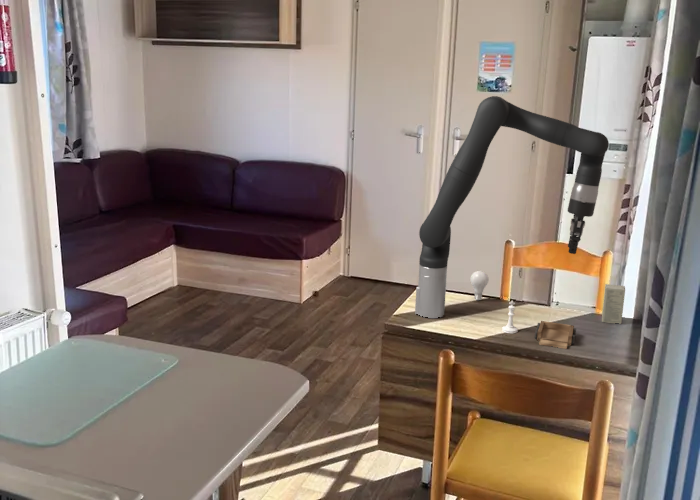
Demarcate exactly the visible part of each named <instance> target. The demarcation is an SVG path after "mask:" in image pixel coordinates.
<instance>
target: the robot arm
mask: <svg viewBox="0 0 700 500" xmlns="http://www.w3.org/2000/svg"><path fill="white" fill-rule="evenodd" d="M502 127H504V128H510V129H514V130H518V131H522V132H524V133H527V134H529V135H531V136H534V137H536V138H538V139H539V140H543V141H545V142H548V143H551V144H554V145H557V146H560V147H562V148H563V147H564V148H568V149H571V150H574V151H576V152H578V153H580V158H579V165H578V167H577V170H576V175H575V178H574V183H573V187H572V188H571V193H570V197H569V201H568V202H569V203H568V206H567V212H568V213H569V214H572V215H573V218H571V220H570V227H569V231H570V232H569V240H568V244H567V247H568V253H569V254H572V255H576V254H577V251H578V248H579V247H578V245H579V242H580V241H581V237H582V236H583V231H584V228H585V226H586V220H584V217H586V218H590V217H593V216H594V212H595V208H596V205H597V200H598V199H597V198H598V195H599V186H600V183H601V179H602V173H603V172H602V171H603V170H602V169H603V167H602V166H603V162H604V159H605V155H606V153H607V151H608V149H609V147H610V145H609V142H610V141H609V140H608V137H607V136H606V135H605V134H603V133H601V132H599V131H593V130H590V129H585V128H582V127H578V126H577V125H575V124H572V123H570V122H567V121H564V120H560V119H557V118H553V117H551V116H546V115H542V114H540V113H535V112H532V111H530V110H527V109H523V108H522V107H519V106H517V105H515V104H513V103H511V102H509V101H507V100H505V99H504V98H503V97H502V96H498V95H492V96H489V97H488V96H487V98H484V99H483V100H482V101H481V102H480V103H479V105H478V106H477V109H476V112H475V116H474V119H473V121H472V123H471V127H470V129H469V132H468V134H467V136H466V137H465V139H464V141H463V143H462V145H461V146H460V147H459V149H458V151H457V153H456V155H455V156H454V159H453V160H452V162H451V164H450V166H449V168H448V170H447V173H446V174H445V177H444V180H443V182H442V184H441V187H440V189H439V191H438V194H437V198H436V200H435V202H434V204H433V206H432V208H431V210H430V212H428V215H427V216H426V218H425V220H424V221H423V223H422V224H421V225H420V227H419V232H418V235H419V241H421V243H422V244H421V247H422V248H421V251H420V256H419V261H418V262H419V265H418V281H417V283H418V284H417V286H416V289H415V291H416V292H415V307H414V314H415V315H416V314H418V315H417V316H419V315H420V316H419V317H422V316H423V317H422V318H425V317H428V318H427V319H439V318H438V317H440V318H443V317H444V316H445V310H446V309H445V308H446V306H445V305H446V292H447V275H448V260H449V257H450V256H449V255H450V248H451V237H452V235H451V234H452V229H451V225H452V222H453V220H454V218H455V215H456V214H457V212H458V210H459V209H460V207H461V206H462V205H463V203H464V201H466V198H467V197H468V195H469V194H470V193H471V192H472V191H471V190H472V189H473V187H474V185H475V183H476V182H477V180H478V177H479V176H480V173H481V170H482V168H483V167H484V163H485V160H486V156H487V154H488V150H489V147H490V145H491V143H492V141H493V139H494V137H495V136H496V135H497V133H498V131H499V130H500V128H502ZM443 315H444V316H443Z"/></svg>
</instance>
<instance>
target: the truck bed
mask: <svg viewBox="0 0 700 500" xmlns="http://www.w3.org/2000/svg"><path fill="white" fill-rule="evenodd" d="M536 327H537V328H535V331H534V339H536V341H539V342H538V344H539V346H546V347H551V346H553V347H552V348H557V347H558V349H559V348H560V349H563V350H565V349H566V350H567V348H568V347H571V346H572V345H575V339H576V336H577V335H576V334H577V328H575V325H572V324H567V323H566V324H565V323H559V322H551V321H544V320H540V322H537V325H536Z"/></svg>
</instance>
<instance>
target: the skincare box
mask: <svg viewBox="0 0 700 500" xmlns="http://www.w3.org/2000/svg"><path fill="white" fill-rule="evenodd" d="M625 294H626V287H625V285H619V284H617V285H616V284H610V283H609V284H608V283H605V285H604V295H603V305H602V312H601V314H602V315H601V322H602V323H609V324H615V323H619V324H618V325H622V320H623V311H624V306H625V305H624V303H625V297H626V296H625Z"/></svg>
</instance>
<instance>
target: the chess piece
mask: <svg viewBox="0 0 700 500" xmlns="http://www.w3.org/2000/svg"><path fill="white" fill-rule="evenodd" d="M515 304H516V302H514V300H511V301H509V303H508V311H509V312H507V315H508V321H507V324H506V325H504V326H502V328H501V331H502V332H504V333H507V334H516V333H518V332H519V331H518V328H517V327H516V326H515V325H514V323H513V320H514V319H513V318H514V317H513V316H515V313H514V310H515V309H516V307H515V306H514V305H515Z"/></svg>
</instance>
